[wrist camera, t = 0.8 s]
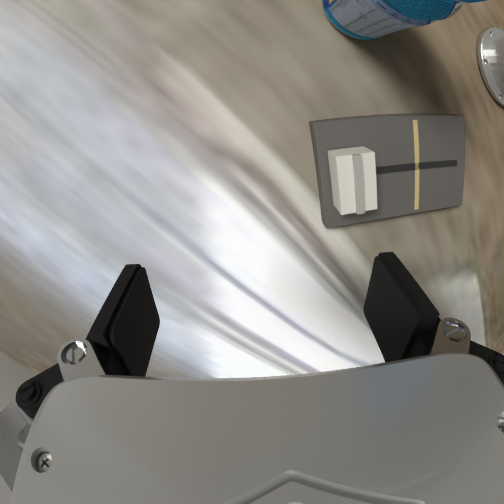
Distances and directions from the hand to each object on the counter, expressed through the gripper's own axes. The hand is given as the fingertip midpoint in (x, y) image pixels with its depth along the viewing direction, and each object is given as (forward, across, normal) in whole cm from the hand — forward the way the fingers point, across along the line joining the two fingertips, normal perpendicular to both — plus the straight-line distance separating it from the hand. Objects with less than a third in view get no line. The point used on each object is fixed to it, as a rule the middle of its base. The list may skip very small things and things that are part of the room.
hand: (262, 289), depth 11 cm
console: (+22, -17, 0) cm, 28 cm away
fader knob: (+20, -10, +1) cm, 22 cm away
